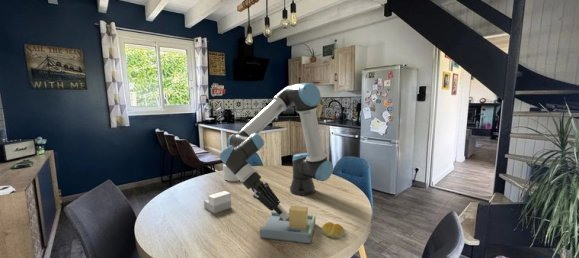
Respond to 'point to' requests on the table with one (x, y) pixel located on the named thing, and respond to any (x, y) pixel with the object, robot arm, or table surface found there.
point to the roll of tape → (229, 174)
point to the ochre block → (298, 217)
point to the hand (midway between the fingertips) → (287, 218)
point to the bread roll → (333, 230)
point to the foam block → (218, 202)
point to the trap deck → (287, 230)
